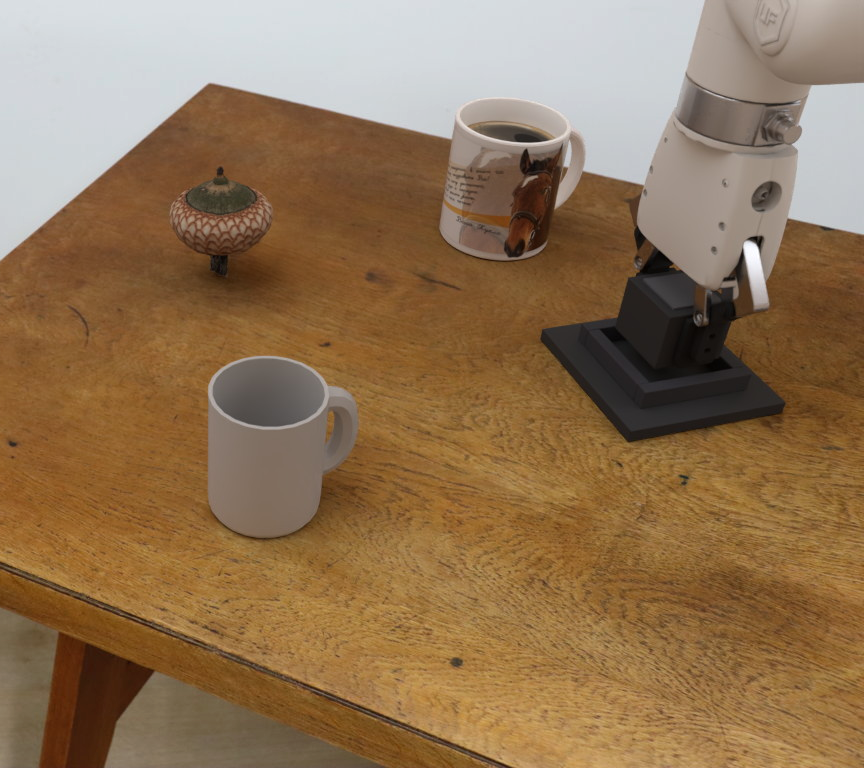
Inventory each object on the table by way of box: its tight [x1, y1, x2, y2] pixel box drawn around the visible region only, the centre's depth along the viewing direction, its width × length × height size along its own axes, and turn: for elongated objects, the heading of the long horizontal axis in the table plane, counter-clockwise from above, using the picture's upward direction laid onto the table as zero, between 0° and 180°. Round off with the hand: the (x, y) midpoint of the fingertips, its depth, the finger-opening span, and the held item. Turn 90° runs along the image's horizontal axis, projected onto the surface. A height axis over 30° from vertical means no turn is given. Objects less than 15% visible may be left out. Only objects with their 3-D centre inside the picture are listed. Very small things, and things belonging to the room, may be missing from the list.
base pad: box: [539, 316, 787, 443], centre depth 83 cm, size 13×13×2 cm
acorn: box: [168, 165, 274, 278], centre depth 90 cm, size 8×8×10 cm
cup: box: [207, 355, 360, 539], centre depth 69 cm, size 7×10×9 cm
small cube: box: [615, 269, 732, 369], centre depth 81 cm, size 6×6×5 cm
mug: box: [438, 96, 587, 261], centre depth 97 cm, size 10×12×11 cm
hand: (668, 337), depth 82 cm, fingers closed on small cube, 5 cm apart
